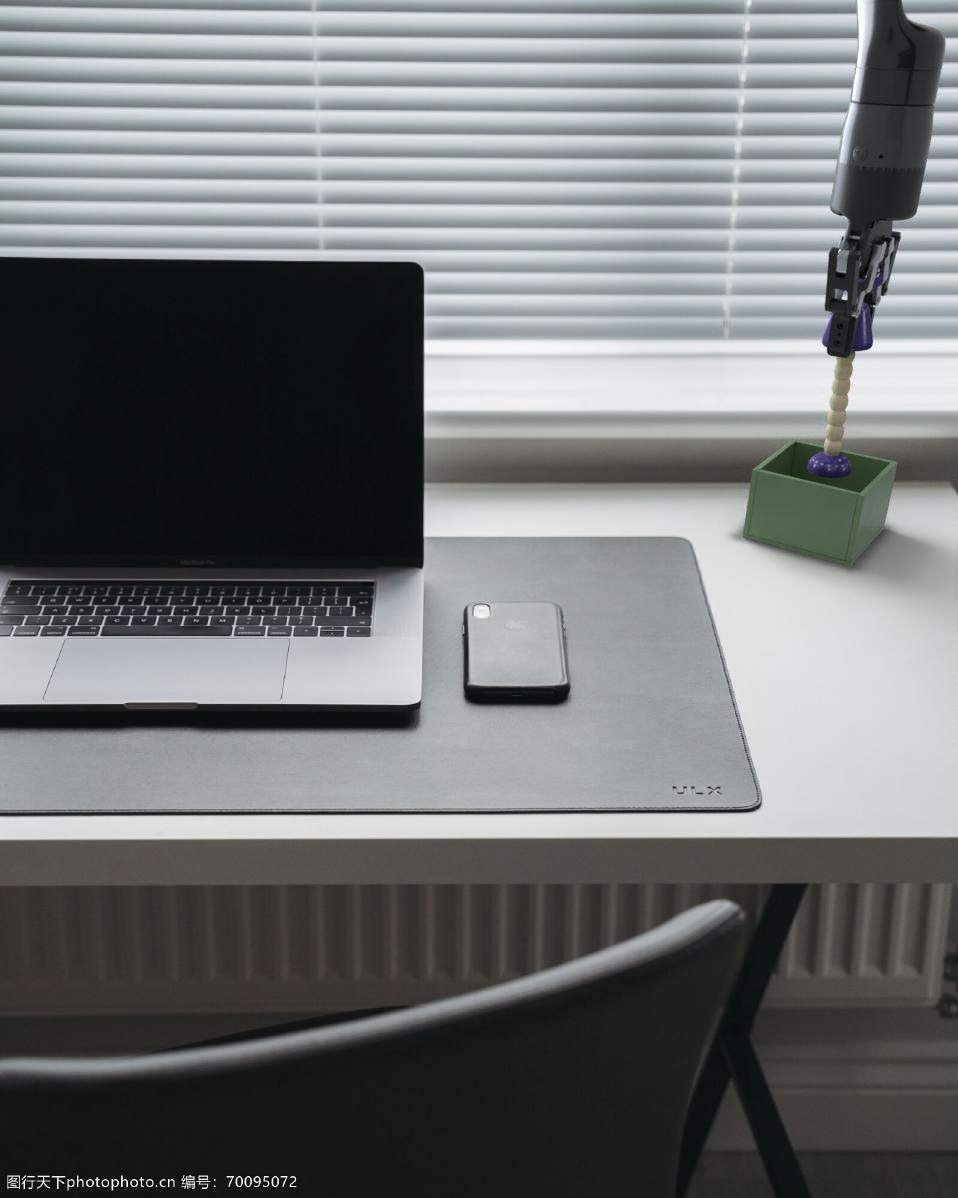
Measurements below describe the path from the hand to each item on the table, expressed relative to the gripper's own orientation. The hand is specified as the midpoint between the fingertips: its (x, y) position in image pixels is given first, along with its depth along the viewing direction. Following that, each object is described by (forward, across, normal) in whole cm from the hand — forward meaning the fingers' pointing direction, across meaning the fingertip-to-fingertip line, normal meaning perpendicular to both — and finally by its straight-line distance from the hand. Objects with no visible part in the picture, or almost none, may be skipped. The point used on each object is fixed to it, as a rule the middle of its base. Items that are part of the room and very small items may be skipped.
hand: (847, 349), depth 105 cm
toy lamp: (+13, 0, 0) cm, 13 cm away
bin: (+20, 0, 0) cm, 20 cm away
